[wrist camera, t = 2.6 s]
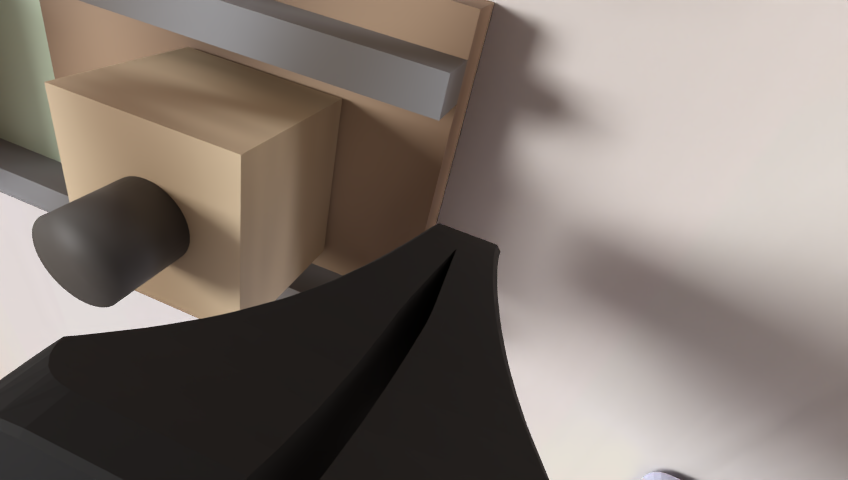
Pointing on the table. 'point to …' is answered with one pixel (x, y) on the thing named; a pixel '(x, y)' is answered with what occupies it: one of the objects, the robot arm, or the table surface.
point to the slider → (187, 182)
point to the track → (285, 58)
